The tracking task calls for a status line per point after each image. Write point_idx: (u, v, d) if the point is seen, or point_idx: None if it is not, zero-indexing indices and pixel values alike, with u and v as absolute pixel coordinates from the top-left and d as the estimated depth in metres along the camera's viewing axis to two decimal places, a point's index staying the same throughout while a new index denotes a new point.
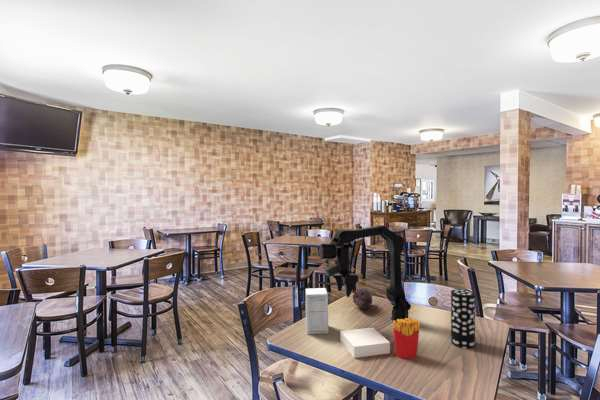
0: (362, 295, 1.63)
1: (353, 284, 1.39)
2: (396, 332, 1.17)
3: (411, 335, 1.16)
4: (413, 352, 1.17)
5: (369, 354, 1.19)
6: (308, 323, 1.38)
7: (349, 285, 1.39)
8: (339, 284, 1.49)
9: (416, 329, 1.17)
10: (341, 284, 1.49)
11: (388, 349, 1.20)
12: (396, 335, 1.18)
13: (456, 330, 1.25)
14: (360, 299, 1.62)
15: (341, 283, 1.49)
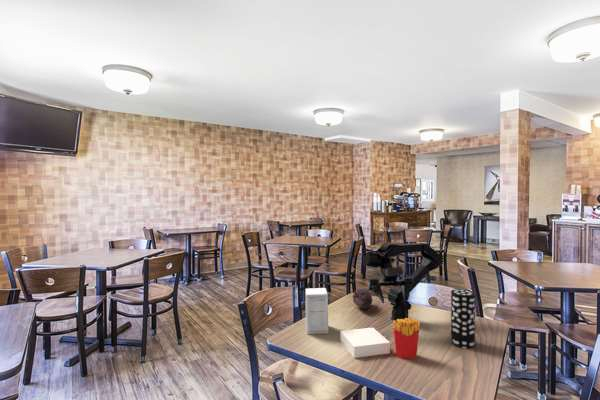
0: (362, 295, 1.63)
1: None
2: (396, 332, 1.17)
3: (411, 335, 1.16)
4: (413, 352, 1.17)
5: (369, 354, 1.19)
6: (308, 323, 1.38)
7: None
8: None
9: (416, 329, 1.17)
10: None
11: (388, 349, 1.20)
12: (396, 335, 1.18)
13: (456, 330, 1.25)
14: (360, 299, 1.62)
15: None
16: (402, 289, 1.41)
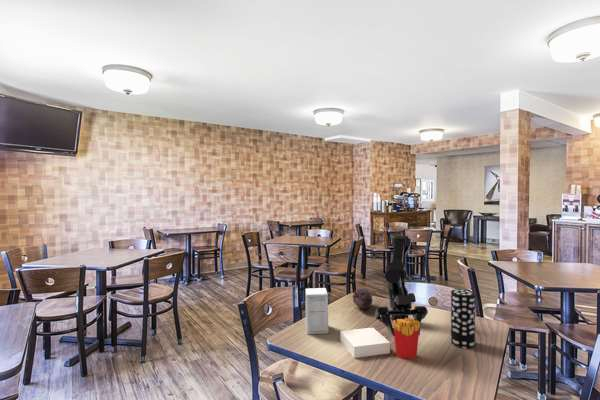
0: (362, 295, 1.63)
1: None
2: (396, 332, 1.17)
3: (411, 335, 1.16)
4: (413, 352, 1.17)
5: (369, 354, 1.19)
6: (308, 323, 1.38)
7: None
8: None
9: (416, 329, 1.17)
10: None
11: (388, 349, 1.20)
12: (396, 335, 1.18)
13: (456, 330, 1.25)
14: (360, 299, 1.62)
15: None
16: (414, 319, 1.24)
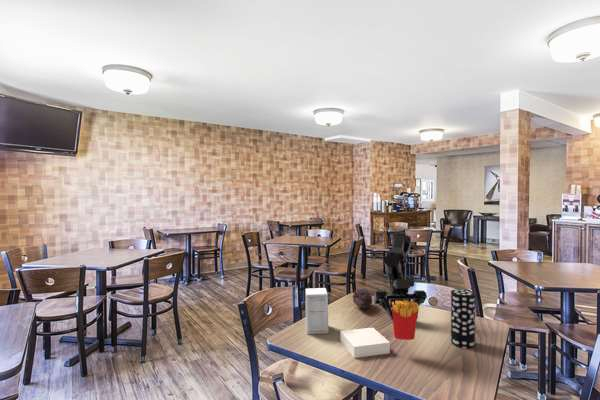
0: (362, 295, 1.63)
1: None
2: (394, 313, 1.18)
3: (409, 316, 1.17)
4: (411, 333, 1.17)
5: (369, 354, 1.19)
6: (308, 323, 1.38)
7: None
8: None
9: (414, 311, 1.17)
10: None
11: (388, 349, 1.20)
12: (394, 316, 1.18)
13: (456, 330, 1.25)
14: (360, 299, 1.62)
15: None
16: None
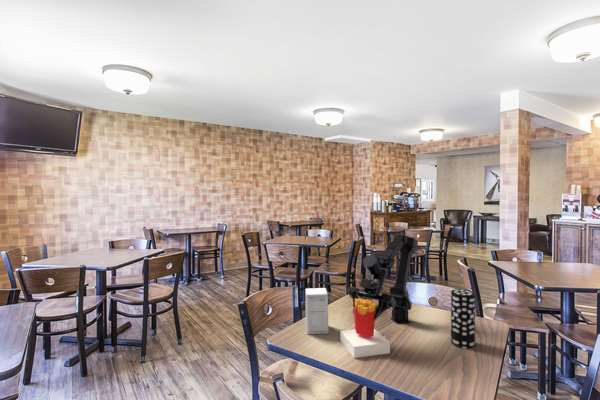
0: None
1: (384, 309, 1.25)
2: (354, 309, 1.27)
3: (364, 314, 1.23)
4: (366, 331, 1.23)
5: (369, 354, 1.19)
6: (308, 323, 1.38)
7: (381, 307, 1.25)
8: None
9: (370, 310, 1.22)
10: None
11: (388, 349, 1.20)
12: (354, 311, 1.27)
13: (456, 330, 1.25)
14: None
15: None
16: None
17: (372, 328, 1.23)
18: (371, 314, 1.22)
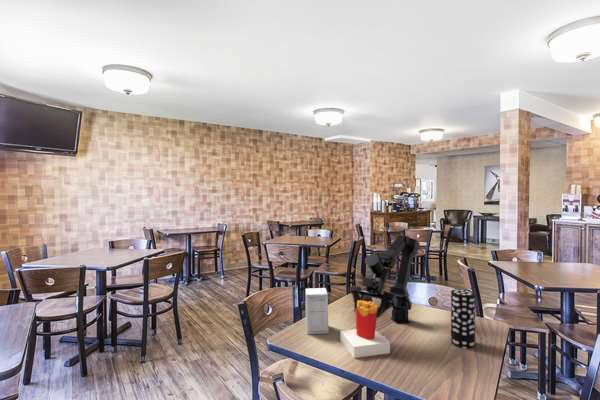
0: None
1: (387, 307, 1.27)
2: (356, 310, 1.28)
3: (365, 316, 1.24)
4: (367, 333, 1.23)
5: (369, 354, 1.19)
6: (308, 323, 1.38)
7: (384, 306, 1.26)
8: None
9: (371, 312, 1.23)
10: None
11: (388, 349, 1.20)
12: (356, 313, 1.28)
13: (456, 330, 1.25)
14: None
15: None
16: None
17: (373, 330, 1.23)
18: (372, 315, 1.22)
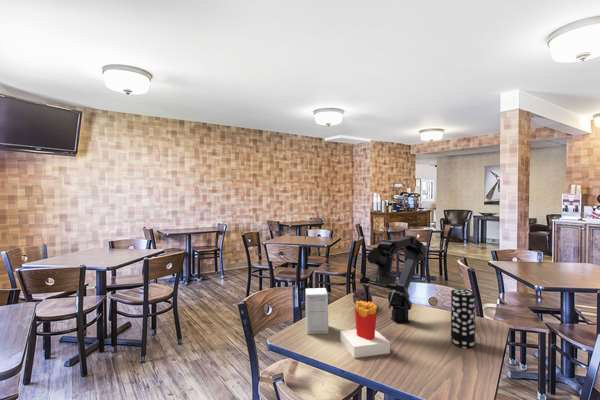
0: (362, 295, 1.63)
1: None
2: (355, 311, 1.27)
3: (365, 316, 1.23)
4: (367, 333, 1.23)
5: (369, 354, 1.19)
6: (308, 323, 1.38)
7: None
8: (367, 295, 1.40)
9: (371, 312, 1.22)
10: None
11: (388, 349, 1.20)
12: (355, 314, 1.27)
13: (456, 330, 1.25)
14: (360, 299, 1.62)
15: None
16: (392, 293, 1.40)
17: (373, 331, 1.23)
18: (372, 316, 1.22)
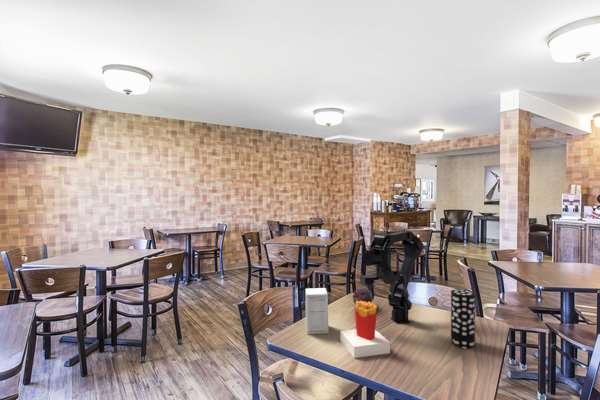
0: (362, 295, 1.63)
1: None
2: (355, 311, 1.27)
3: (364, 317, 1.23)
4: (367, 333, 1.23)
5: (369, 354, 1.19)
6: (308, 323, 1.38)
7: None
8: None
9: (370, 313, 1.22)
10: None
11: (388, 349, 1.20)
12: (355, 314, 1.27)
13: (456, 330, 1.25)
14: (360, 299, 1.62)
15: None
16: None
17: (373, 331, 1.23)
18: (372, 316, 1.22)
